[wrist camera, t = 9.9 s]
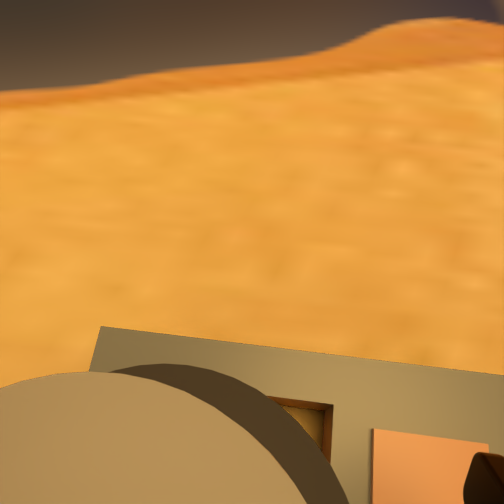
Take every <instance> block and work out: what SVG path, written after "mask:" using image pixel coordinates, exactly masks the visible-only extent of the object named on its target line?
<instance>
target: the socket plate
mask: <svg viewBox="0 0 504 504" xmlns="http://www.w3.org/2000/svg"><path fill="white" fill-rule="evenodd" d="M163 363H164V364H180V365H190V366H195V367H200V368H205V369H210V370H213V371H216V372H219V373H222V374H225V375H228V376H231V377H234V378H236V379H238V380H240V381H242V382H244V383H246V384H248V385H249V386H251V387H253V388H255V389H257V390H259V391H260V392H261V393H263V394H264V395H266V396H267V397H269V398H270V399H272V400H273V401H274V402H276V403H277V404H279V405H283V406H291V407H298V408H306V409H313V410H321V411H325V413H324V429H323V445H322V453H323V455H324V456H325V458H326V459H327V461H328V462H329V464H330V465H331V467H332V468H333V470H334V472H335V474H336V476H337V478H338V480H339V482H340V484H341V486H342V488H343V490H344V492H345V494H346V496H347V499H348V502H349V504H464V500H463V486H464V483H465V480H466V476H467V473H468V470H469V467H470V464H471V461H472V458H473V456H474V454H475V453H477V452H487V453H494V454H499V455H502V456H503V457H504V375H496V374H488V373H480V372H472V371H464V370H455V369H447V368H439V367H431V366H423V365H414V364H406V363H398V362H390V361H382V360H374V359H365V358H357V357H349V356H341V355H333V354H325V353H316V352H308V351H300V350H292V349H284V348H276V347H267V346H259V345H251V344H243V343H235V342H226V341H218V340H210V339H202V338H194V337H186V336H177V335H169V334H161V333H153V332H145V331H137V330H128V329H120V328H112V327H104V326H101V328H100V332H99V335H98V339H97V343H96V346H95V350H94V354H93V358H92V361H91V365H90V369H89V372H104V373H108V372H111V371H114V370H118V369H123V368H128V367H133V366H138V365H149V364H163Z"/></svg>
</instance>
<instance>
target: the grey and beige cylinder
mask: <svg viewBox="0 0 504 504" xmlns="http://www.w3.org/2000/svg"><path fill="white" fill-rule="evenodd" d="M0 504H349V502H348V499H347V496H346V494H345V492H344V490H343V488H342V486H341V484H340V482H339V480H338V478H337V476H336V474H335V472H334V470H333V468H332V467H331V465H330V464H329V462H328V461H327V459H326V458H325V456H324V455H323V453H322V452H321V450H320V449H319V447H318V446H317V444H316V443H315V441H314V440H313V439H312V438H311V437H310V436H309V434H308V433H307V432H306V431H305V430H304V429H303V427H302V426H301V425H300V424H299V423H298V422H297V421H296V420H295V419H294V418H293V417H292V416H291V415H290V414H288V413H287V412H286V411H285V410H284V409H283V408H282V407H281V406H280V405H279V404H277V403H276V402H274V401H273V400H272V399H270V398H269V397H267V396H266V395H264V394H263V393H261V392H260V391H259V390H257V389H255V388H253V387H251V386H249V385H248V384H246V383H244V382H242V381H240V380H238V379H236V378H234V377H231V376H228V375H225V374H222V373H219V372H216V371H213V370H210V369H205V368H200V367H195V366H190V365H180V364H164V363H163V364H149V365H138V366H133V367H128V368H123V369H118V370H114V371H111V372H108V373H104V372H76V373H62V374H54V375H49V376H44V377H39V378H34V379H29V380H24V381H21V382H18V383H15V384H12V385H9V386H6V387H3V388H0Z"/></svg>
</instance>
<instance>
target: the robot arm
mask: <svg viewBox="0 0 504 504" xmlns="http://www.w3.org/2000/svg"><path fill="white" fill-rule="evenodd" d="M463 500H464V504H504V457H503V456H502V455H499V454H494V453H487V452H477V453H475V454H474V456H473V458H472V461H471V464H470V467H469V470H468V473H467V476H466V480H465V483H464V486H463Z"/></svg>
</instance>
